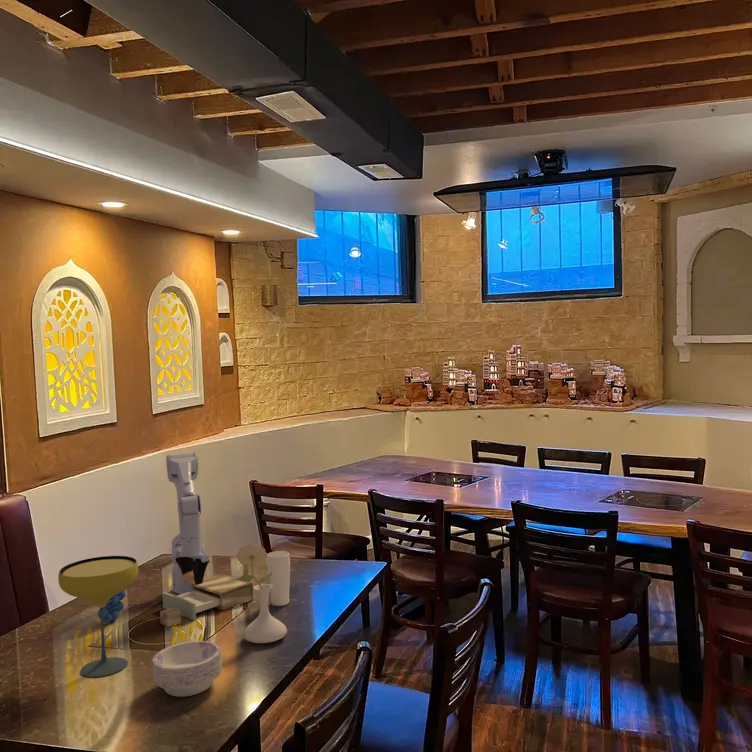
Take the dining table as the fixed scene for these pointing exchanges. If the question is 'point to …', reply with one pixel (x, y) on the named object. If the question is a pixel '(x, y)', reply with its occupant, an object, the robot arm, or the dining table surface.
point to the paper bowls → (187, 667)
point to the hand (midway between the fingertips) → (193, 582)
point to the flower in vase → (260, 599)
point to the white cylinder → (279, 577)
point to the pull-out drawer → (190, 602)
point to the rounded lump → (188, 577)
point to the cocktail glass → (99, 597)
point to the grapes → (112, 608)
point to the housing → (226, 590)
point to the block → (170, 617)
